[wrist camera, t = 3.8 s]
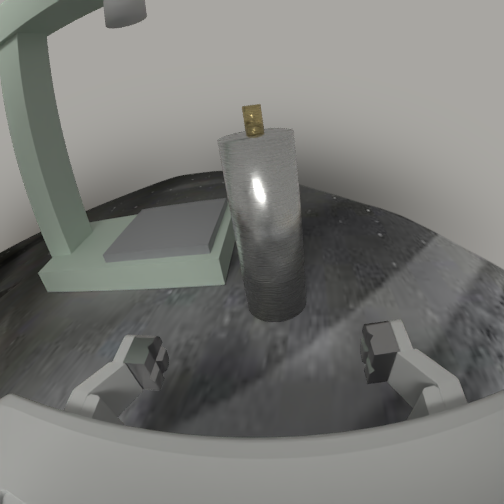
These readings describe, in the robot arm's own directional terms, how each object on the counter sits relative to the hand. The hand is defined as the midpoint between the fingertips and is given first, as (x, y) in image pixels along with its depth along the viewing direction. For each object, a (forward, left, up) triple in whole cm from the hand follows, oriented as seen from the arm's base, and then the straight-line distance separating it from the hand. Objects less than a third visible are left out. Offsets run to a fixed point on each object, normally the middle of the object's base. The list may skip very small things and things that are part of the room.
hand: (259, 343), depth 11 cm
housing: (0, +12, -8) cm, 15 cm away
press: (-12, +22, -8) cm, 26 cm away
